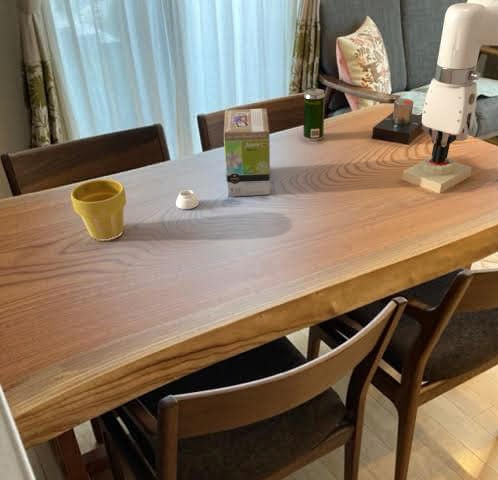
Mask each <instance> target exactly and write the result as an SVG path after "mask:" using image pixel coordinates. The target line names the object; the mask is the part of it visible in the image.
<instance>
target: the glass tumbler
mask: <svg viewBox="0 0 498 480" xmlns="http://www.w3.org/2000/svg"><path fill="white" fill-rule="evenodd" d="M414 103H415V102H414V100H413V99H410V98H398V99H395V100H394V103H393V110H392V112H393V119H392V122H393V123H395V124H398V125H406V124H409V123H411V117H412V114H413V109H414Z"/></svg>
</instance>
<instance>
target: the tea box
mask: <svg viewBox="0 0 498 480" xmlns="http://www.w3.org/2000/svg"><path fill="white" fill-rule="evenodd" d="M270 144H271V143H270V126H269V117H268V110H267V108H247V109H245V108H244V109H227V110H225V111H224V123H223V148H224V161H225V162H224V163H225V177H226V192H227V196H228V197H249V196H265V195H270V193H271V153H270V151H271V149H270V148H271V145H270Z"/></svg>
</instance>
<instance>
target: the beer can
mask: <svg viewBox="0 0 498 480" xmlns="http://www.w3.org/2000/svg"><path fill="white" fill-rule="evenodd" d="M325 104H326V94H325V91H324V89H321V88H309V89H306V90H305V91H304V95H303V134H302V135H303V138H304V139H305V140H306V141H308V142H309V141H310V142H318V141H321V140H322V139H323V137H324V131H325V130H324V129H325V106H326V105H325Z"/></svg>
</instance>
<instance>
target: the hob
mask: <svg viewBox="0 0 498 480" xmlns="http://www.w3.org/2000/svg"><path fill="white" fill-rule="evenodd" d="M392 119H393V111H392V112H390V114H388V115H387V116H386V117H384V118H383V119H382V120H380V121H379V122H378V123H376V124H375V125H374V126H373V127H372V135H371V139H372V140H373V139H374V140H378V141H384V142H388V143H389V142H390V143H395V144H401V145H407V146H409V145H410V144H411V143H412V142H413V141H414V140H415V139H416V138H417V137H418V136H419V135H421V134H422V133H423V132H425V131H424V130H423V129H422V128H421V127H422V114H415V113H412V117H411V123H409V124H406V125H398V124H395V123H393V122H392Z"/></svg>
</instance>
